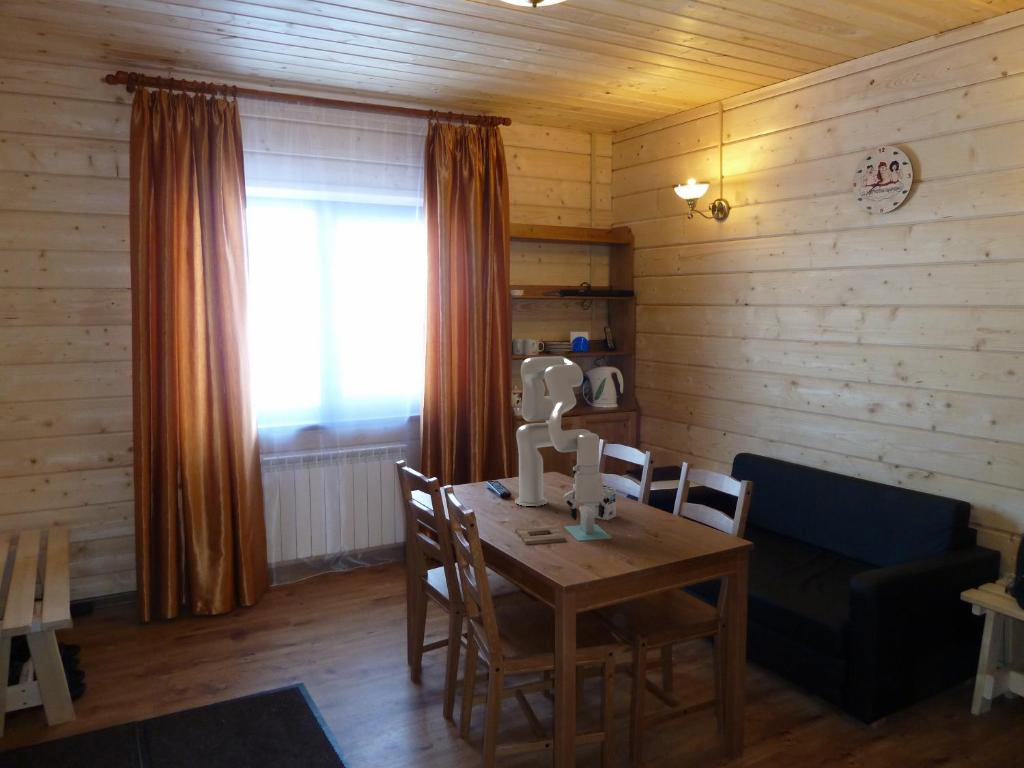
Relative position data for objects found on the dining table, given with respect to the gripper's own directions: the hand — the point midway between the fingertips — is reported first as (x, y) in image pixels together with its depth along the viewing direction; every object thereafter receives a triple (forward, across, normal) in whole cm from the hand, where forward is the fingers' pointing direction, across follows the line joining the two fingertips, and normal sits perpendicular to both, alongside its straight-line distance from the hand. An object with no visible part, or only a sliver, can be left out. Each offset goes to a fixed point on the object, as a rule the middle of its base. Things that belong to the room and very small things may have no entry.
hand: (587, 517), depth 263 cm
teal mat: (+5, 0, 0) cm, 5 cm away
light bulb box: (+6, +11, +18) cm, 22 cm away
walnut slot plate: (+5, -17, 0) cm, 18 cm away
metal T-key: (+5, 0, 0) cm, 5 cm away
